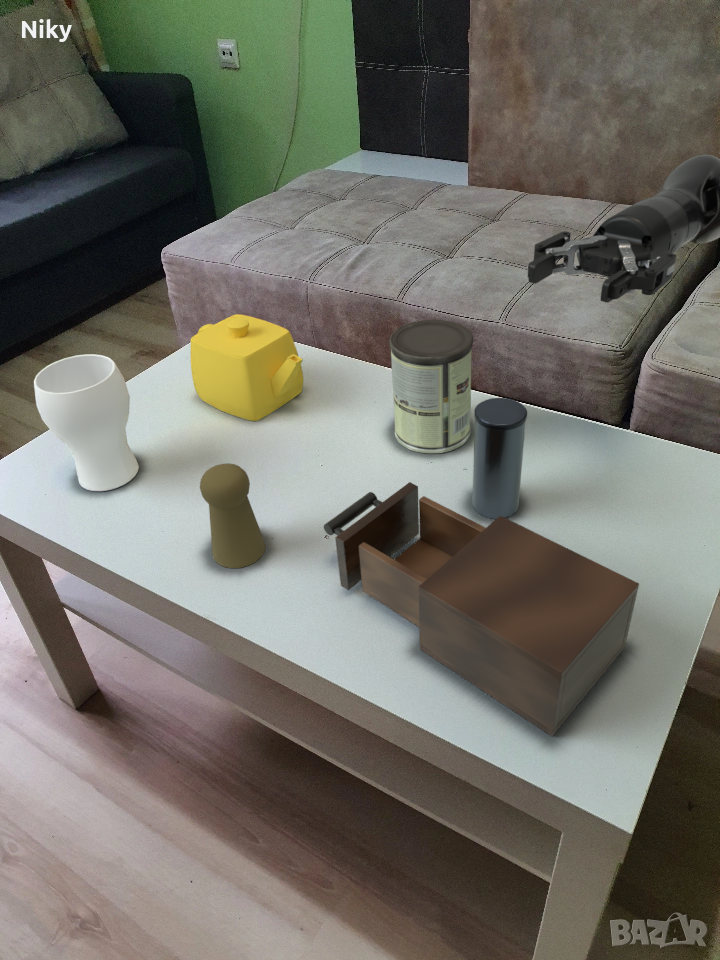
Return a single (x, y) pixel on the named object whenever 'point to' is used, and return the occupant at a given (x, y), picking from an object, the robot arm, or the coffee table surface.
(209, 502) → the pepper shaker
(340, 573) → the drawer
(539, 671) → the cabinet
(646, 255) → the robot arm
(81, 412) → the cup
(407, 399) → the coffee can
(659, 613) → the coffee table surface
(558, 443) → the coffee table surface
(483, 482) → the slate tube
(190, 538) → the coffee table surface
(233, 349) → the teapot
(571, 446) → the coffee table surface
